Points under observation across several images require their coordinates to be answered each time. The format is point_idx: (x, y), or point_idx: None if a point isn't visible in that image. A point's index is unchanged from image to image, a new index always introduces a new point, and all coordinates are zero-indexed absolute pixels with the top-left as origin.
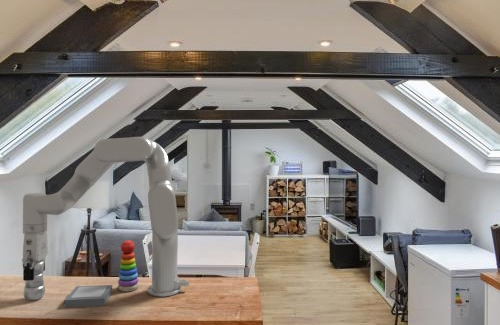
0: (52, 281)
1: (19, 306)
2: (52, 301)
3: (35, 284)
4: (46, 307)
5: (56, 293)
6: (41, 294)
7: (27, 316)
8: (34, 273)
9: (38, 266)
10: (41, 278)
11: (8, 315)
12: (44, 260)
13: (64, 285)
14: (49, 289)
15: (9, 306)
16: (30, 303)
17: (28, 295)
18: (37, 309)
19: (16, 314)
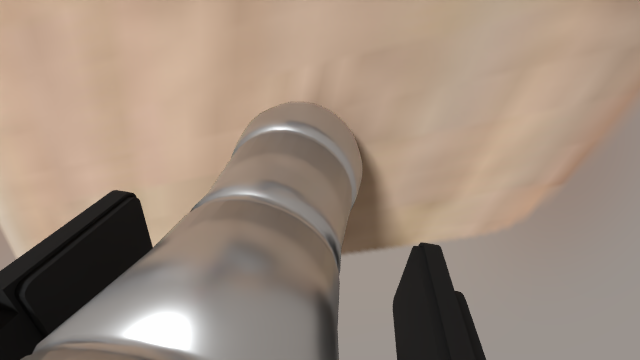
0: (29, 107)
1: (400, 195)
2: (383, 17)
3: (345, 191)
4: (493, 35)
5: (226, 27)
6: (331, 115)
7: (599, 125)
8: (335, 277)
9: (306, 329)
10: (294, 174)
11: (512, 217)
12: (105, 338)
13: (71, 3)
14: (157, 94)
15: (383, 233)
16: (373, 153)
17: (359, 187)
18: (501, 91)
19: (520, 187)
